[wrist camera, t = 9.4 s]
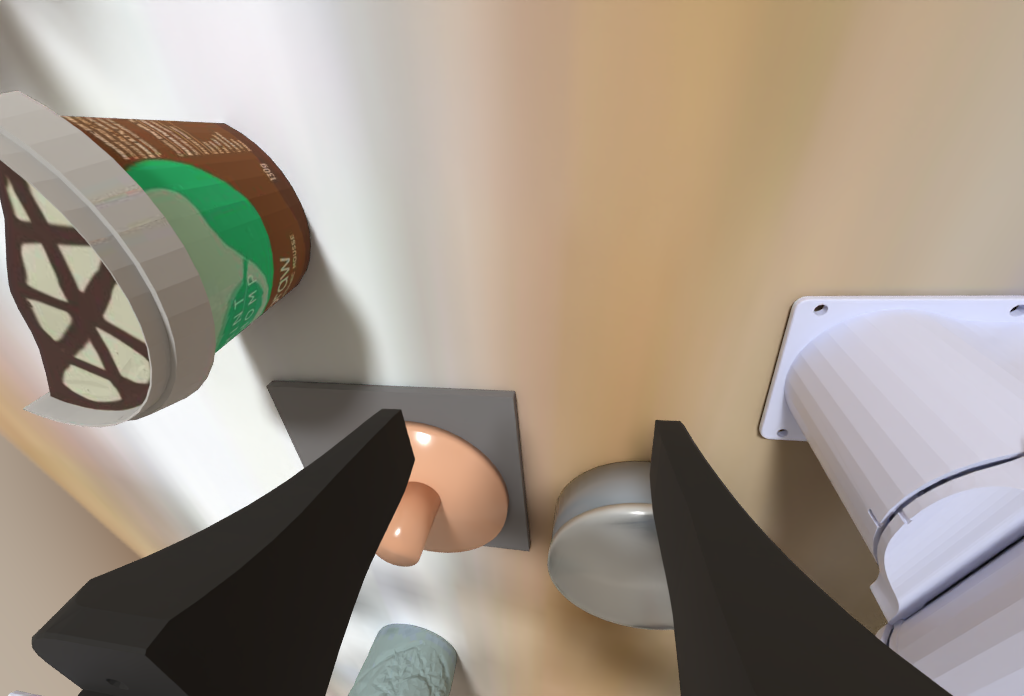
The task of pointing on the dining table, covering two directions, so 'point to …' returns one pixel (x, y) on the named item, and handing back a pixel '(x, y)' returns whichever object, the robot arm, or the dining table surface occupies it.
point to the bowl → (611, 547)
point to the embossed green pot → (406, 664)
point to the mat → (464, 412)
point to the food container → (138, 252)
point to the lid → (445, 499)
